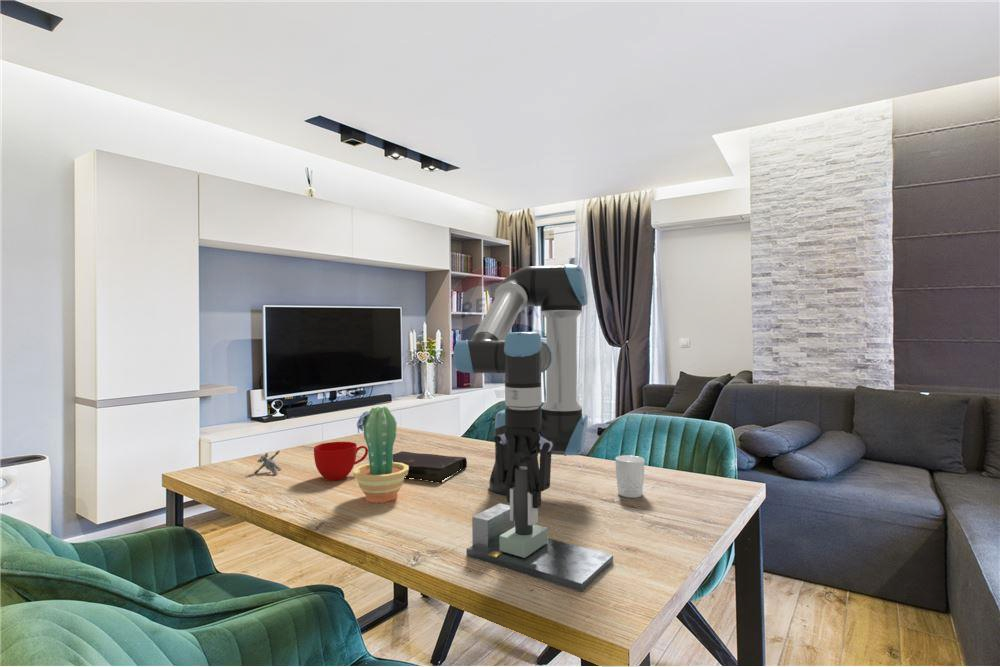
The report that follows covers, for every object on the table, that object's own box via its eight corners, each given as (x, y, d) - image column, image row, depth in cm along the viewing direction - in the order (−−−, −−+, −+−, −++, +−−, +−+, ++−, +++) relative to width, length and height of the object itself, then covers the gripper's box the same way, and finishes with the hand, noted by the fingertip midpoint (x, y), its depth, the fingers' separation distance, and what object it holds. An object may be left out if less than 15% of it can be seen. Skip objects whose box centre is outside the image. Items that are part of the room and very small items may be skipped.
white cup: (645, 499, 141) (645, 462, 141) (615, 497, 143) (615, 461, 143) (643, 490, 149) (643, 455, 149) (615, 489, 150) (615, 454, 150)
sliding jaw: (499, 550, 105) (499, 471, 105) (523, 535, 112) (523, 461, 112) (524, 557, 101) (524, 476, 101) (547, 542, 109) (547, 466, 109)
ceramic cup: (375, 476, 164) (374, 445, 164) (320, 486, 155) (320, 452, 155) (361, 468, 175) (360, 438, 175) (309, 476, 165) (309, 445, 165)
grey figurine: (260, 479, 163) (245, 465, 168) (269, 488, 167) (255, 474, 172) (285, 455, 168) (271, 442, 173) (294, 465, 172) (280, 452, 177)
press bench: (466, 555, 106) (466, 519, 106) (505, 533, 118) (504, 500, 118) (581, 592, 92) (581, 549, 91) (613, 562, 103) (612, 524, 103)
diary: (402, 464, 183) (402, 449, 183) (466, 470, 174) (467, 455, 174) (370, 477, 166) (371, 461, 166) (440, 485, 156) (440, 468, 156)
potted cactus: (383, 485, 155) (383, 402, 155) (421, 494, 146) (420, 406, 146) (340, 499, 142) (340, 408, 142) (379, 510, 133) (378, 413, 133)
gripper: (479, 406, 108) (480, 518, 108) (549, 413, 99) (550, 535, 99) (500, 401, 114) (501, 507, 115) (568, 408, 105) (568, 523, 105)
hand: (523, 520), depth 107 cm, fingers closed on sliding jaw, 4 cm apart
